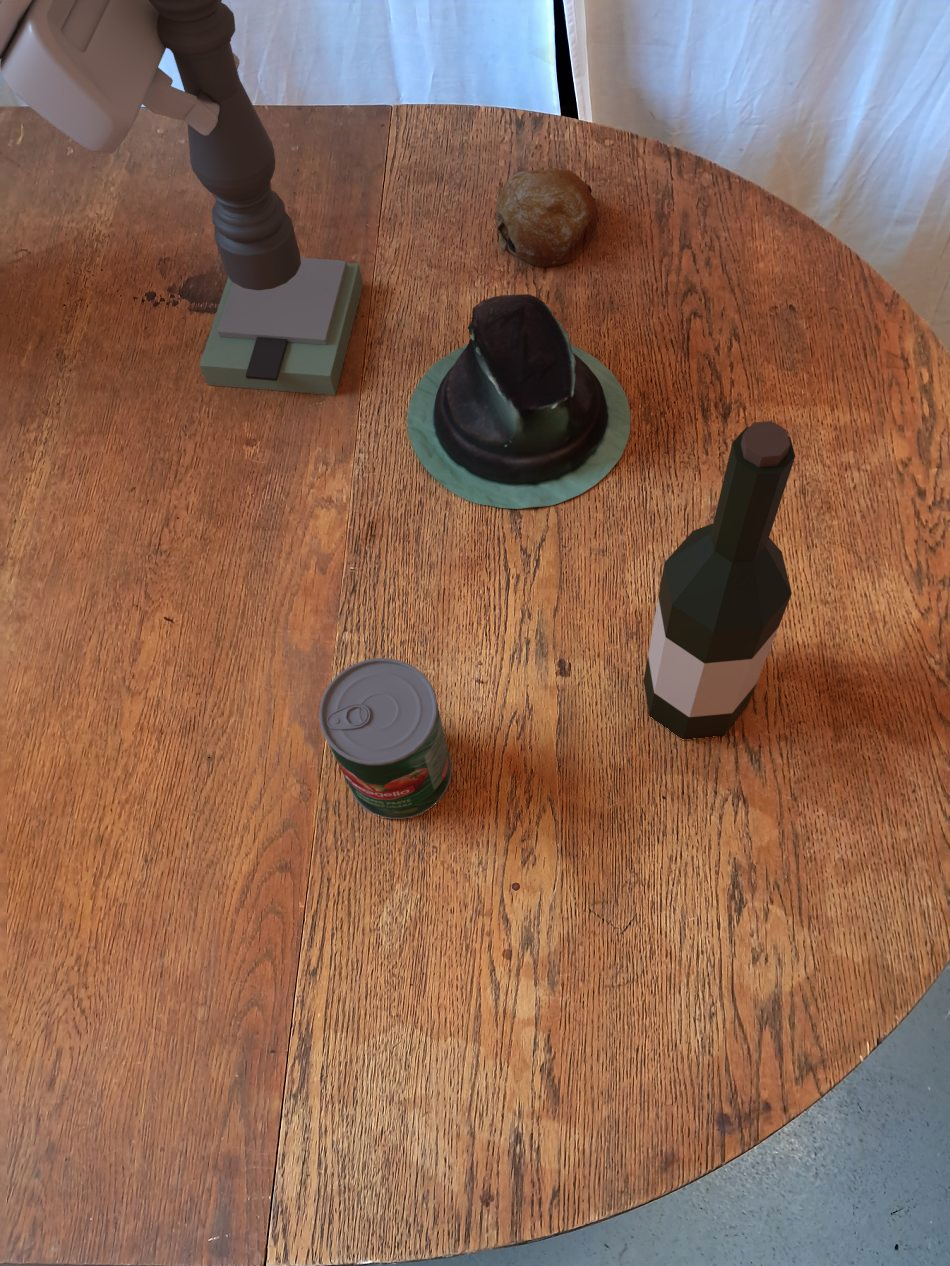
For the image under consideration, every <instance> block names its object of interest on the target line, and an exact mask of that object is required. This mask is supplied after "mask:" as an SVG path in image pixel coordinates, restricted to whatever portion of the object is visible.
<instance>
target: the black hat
mask: <svg viewBox="0 0 950 1266" xmlns="http://www.w3.org/2000/svg"><path fill="white" fill-rule="evenodd" d="M471 315H472V316H471V317H470V319H471V321H470V324H469V325H468V326H467V330H468V332H469V334H470V339H469V341H468V343H467V344H464V345H462V346H461V347H457V348H456V349H454V350H452V351H450V352H449V353H447V354H446V355H445V356H443V357H441V358H440V359H439V360H438V359H437V361H435V362H434V363H433V364H432V365H431V366H430V367H429V369H428V370H427V372H426V373H425V374H424V375H423V376H422V378H421V379H420V380H419V382H418V384H417V385H416V387H415V389H414V391H413V393H412V395H411V397H410V400H409V403H408V408H407V432H408V438H409V441H410V444H411V447H412V449H413V451H414V453H415V455H416V456H417V458H418V460H419V462H420V463H421V464H422V466H423V467H424V469H425V470H426V471H427V472H428V473H429V474H430V475H431V476H432V478H434V479H435V480H436V481H437V482H439V484H441V485H442V486H443V487H444V488H445V489H446V490H448V491H450V492H451V493H453V494H454V495H456V496H458V497H459V498H462V499H464V500H466V501H468V502H470V503H474V504H478V505H483V506H490V507H494V508H499V509H510V510H511V509H512V510H521V509H528V508H539V507H550V506H554V505H557V504H561V503H564V502H566V501H568V500H571V499H573V498H575V497H577V496H580V495H581V494H584V493H585V492H586V491H588V490H590V489H591V488H593V487H594V486H596V485H597V484H598V483H599V482H601V480H602V479H604V478H605V477H606V476H607V475H608V474H609V473H610V471H612V470H613V468H614V467H615V466H616V464H618V462H619V461H620V459H621V458H622V456H623V454H624V452H625V449H626V447H627V444H628V441H629V437H630V432H631V422H632V421H631V410H630V409H631V408H630V405H629V401H628V397H627V394H626V393H625V391H624V388H623V387H622V385H621V383H620V382H619V381H618V378H617V377H616V376H615V374H614V373H613V372H612V371H611V370H610V369H609V368H608V367H607V366H606V365H604V363H602V362H601V361H600V360H599V359H597V357H594V356H593V355H591V353H589V352H588V351H585V350H584V349H582V348H580V347H578V346H577V345H574V344H572V343H571V338H570V336H569V334H568V333H567V332H566V329H564V326H563V325H562V323H561V322H560V321H559V319H558V318H556V317H555V316H554V313H553V311H552V310H551V307H549V305H547V303H546V302H544V301H543V300H542V299H540V297H537V296H535V295H532V294H530V293H525V294H523V293H522V294H503V295H502V294H501V295H497V296H491V297H489V298H486V299H482V300H481V301H480V302H479V303H477V304H475V306H474V307H472V311H471Z"/></svg>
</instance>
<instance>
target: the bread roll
mask: <svg viewBox="0 0 950 1266" xmlns="http://www.w3.org/2000/svg"><path fill="white" fill-rule="evenodd" d="M592 192H593V188H592V187H591V186H590V184H588V183H586V181H584V180H583V179H581V178H580V177H579V175H577V173H575V172H573V171H571V169H565V168H563V169H561V168H560V169H558V168H556V167H549V168H547V169H535V170H520V171H518V172H516V173H515V174H513V175H512V176H511V177H510V178H509V179H507V180H506V181H505V183H504V185H503V186H502V188H501V190H500V192H499V195H498V198H497V200H496V203H495V208H496V210H495V221H496V222H495V223H496V232H497V233H498V234H499V236H498V237H499V238H498V244H499V246H500V249H502V250H504V251H508V252H509V253H510V254H512V255H513V256H515V257H516V258H519V259H521V260H522V261H525V262H527V263H529V264H531V265H533V266H536V267H541V268H551V267H556V266H560V265H564V264H567V263H569V262H572V261H574V260H576V259H577V257H579V256H580V255H581V253H583V251H584V250H585V249H586V248H587V247H588V245H589V244H590V243H591V241H592V240H593V238H594V234H595V232H596V231H597V226H598V214H599V210H598V207H597V203H596V200H597V199H596V198H595V197H594V196H593V195H592Z"/></svg>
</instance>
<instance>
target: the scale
mask: <svg viewBox="0 0 950 1266" xmlns="http://www.w3.org/2000/svg"><path fill="white" fill-rule="evenodd" d="M300 259H301V265H300V267H299V269H298V272H297V274H296V275H295V276H294V277H293V278H291V279H290V280H289V281H288V282H287V283H285V284H283V285H280V286H278V287H276V288H273V289H266V290H251V289H245V288H242V287H240V286H239V285H237V284H235V283H233V282H232V281H231V279H230V278H229V277H228V276H227V280H226V282H225V285H224V288H223V291H222V295H221V298H220V301H219V304H218V306H217V310H216V313H215V316H214V319H213V322H212V326H211V328H210V332H209V335H208V337H207V340H206V344H205V347H204V350H203V352H202V356H201V360H200V362H199V368H200V371H201V373H202V375H203V378H204V380H205V382H206V385H207V386H213V387H216V386H217V387H228V388H238V389H239V388H240V389H251V390H265V391H276V392H277V391H278V392H288V393H289V392H290V393H302V394H314V395H325V396H326V395H327V396H336V395H337V391H338V387H339V382H340V379H341V375H342V371H343V366H344V363H345V359H346V354H347V351H348V346H349V343H350V339H351V335H352V332H353V327H354V323H355V319H356V315H357V311H358V307H359V303H360V298H361V295H362V291H363V286H364V282H363V276H362V273H361V268H360V267H361V266H360V263H357V262H354V263H353V262H347V260H341V259H328V258H327V259H326V258H317V257H315V258H314V257H303V256H300Z"/></svg>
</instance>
